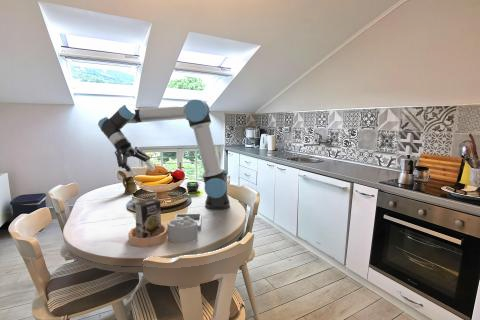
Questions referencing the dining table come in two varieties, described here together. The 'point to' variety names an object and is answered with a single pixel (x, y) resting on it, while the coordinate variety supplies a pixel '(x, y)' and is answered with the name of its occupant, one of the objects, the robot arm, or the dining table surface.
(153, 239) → the bowl
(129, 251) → the dining table surface
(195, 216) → the parts tray
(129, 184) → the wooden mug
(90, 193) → the dining table surface
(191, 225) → the lumpy-topped squat cylinder
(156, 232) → the coffee box
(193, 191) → the toy cauldron
